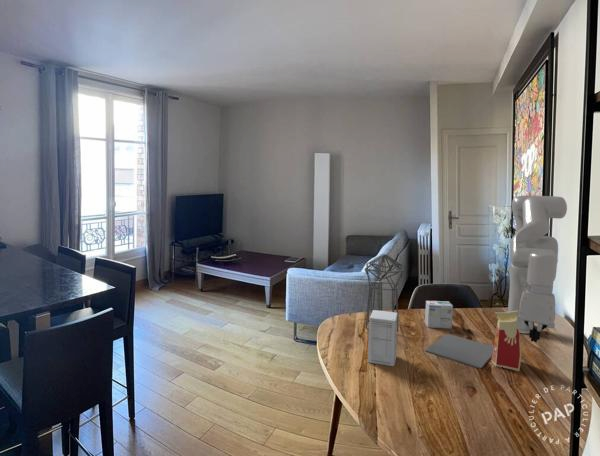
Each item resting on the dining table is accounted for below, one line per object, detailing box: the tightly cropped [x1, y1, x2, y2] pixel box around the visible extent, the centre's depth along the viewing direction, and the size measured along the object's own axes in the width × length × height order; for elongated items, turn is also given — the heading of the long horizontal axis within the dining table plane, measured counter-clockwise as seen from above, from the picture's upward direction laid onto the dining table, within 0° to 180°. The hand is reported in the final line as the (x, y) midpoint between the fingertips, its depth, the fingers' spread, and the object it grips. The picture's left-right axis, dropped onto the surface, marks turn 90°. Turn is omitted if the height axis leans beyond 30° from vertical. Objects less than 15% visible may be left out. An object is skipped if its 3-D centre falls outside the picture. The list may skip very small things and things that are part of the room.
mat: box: [425, 333, 494, 370], centre depth 145 cm, size 22×20×1 cm
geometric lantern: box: [364, 253, 405, 333], centre depth 156 cm, size 16×16×35 cm
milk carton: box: [490, 311, 522, 372], centre depth 134 cm, size 9×9×20 cm
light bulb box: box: [424, 300, 454, 330], centre depth 170 cm, size 11×7×11 cm, turn 84°
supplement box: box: [367, 309, 399, 367], centre depth 136 cm, size 10×9×17 cm
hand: (534, 340), depth 128 cm, fingers closed
